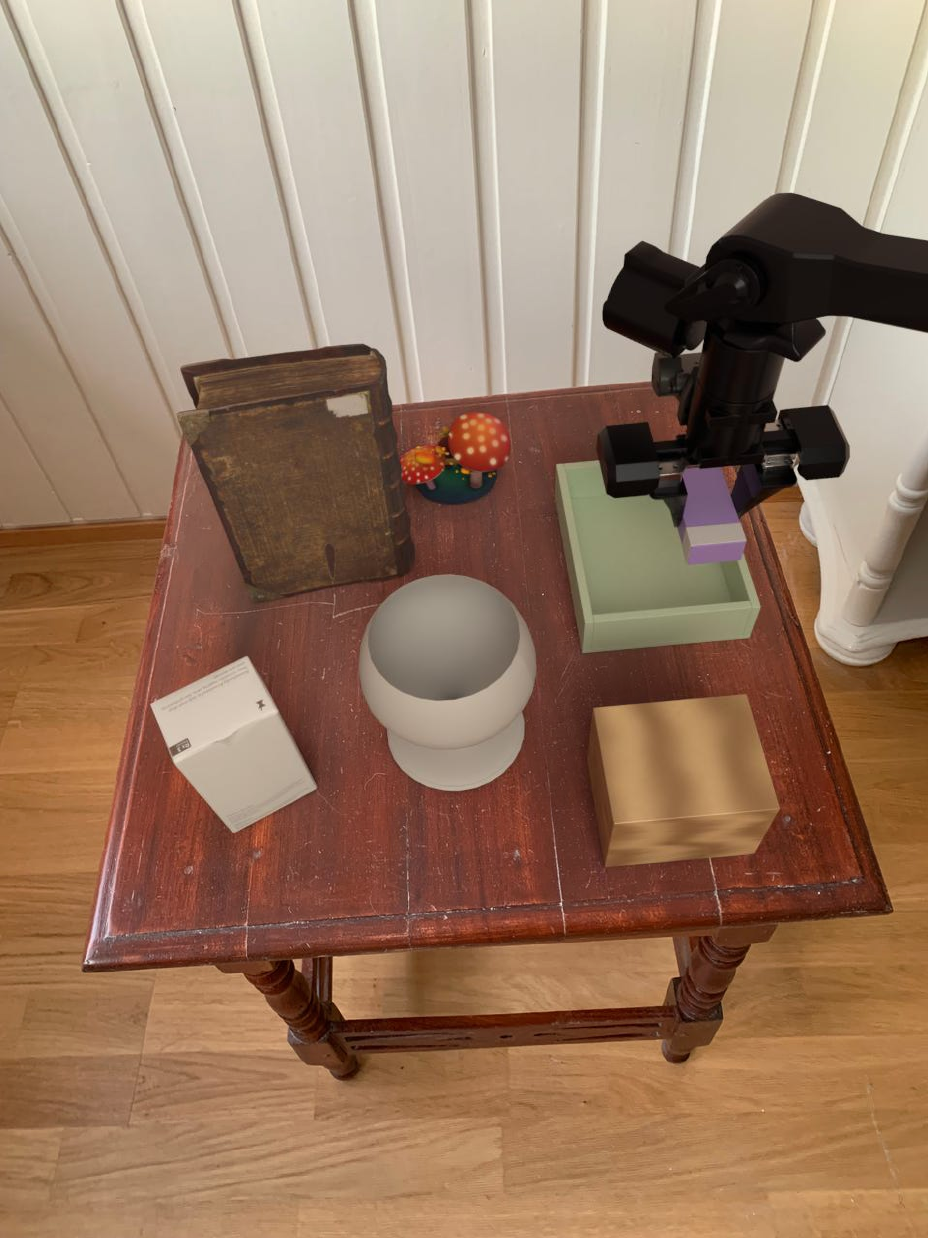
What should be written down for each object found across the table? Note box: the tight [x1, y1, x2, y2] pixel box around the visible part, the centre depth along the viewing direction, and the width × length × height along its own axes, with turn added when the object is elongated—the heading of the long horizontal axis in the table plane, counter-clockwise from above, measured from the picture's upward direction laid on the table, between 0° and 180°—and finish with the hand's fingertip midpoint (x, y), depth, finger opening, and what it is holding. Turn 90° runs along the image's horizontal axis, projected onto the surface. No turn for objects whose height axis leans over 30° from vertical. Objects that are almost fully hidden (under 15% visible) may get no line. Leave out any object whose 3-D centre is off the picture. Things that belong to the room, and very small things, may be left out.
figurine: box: [399, 411, 512, 505], centre depth 94 cm, size 12×9×8 cm
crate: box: [586, 693, 781, 868], centre depth 71 cm, size 12×10×9 cm
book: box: [176, 343, 416, 603], centre depth 81 cm, size 17×7×25 cm, turn 93°
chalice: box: [358, 573, 538, 792], centre depth 74 cm, size 14×14×15 cm
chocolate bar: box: [677, 467, 747, 565], centre depth 77 cm, size 5×9×2 cm, turn 4°
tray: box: [554, 459, 762, 654], centre depth 87 cm, size 16×20×5 cm
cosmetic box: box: [149, 655, 318, 834], centre depth 71 cm, size 8×6×15 cm
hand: (702, 520), depth 78 cm, fingers closed on chocolate bar, 4 cm apart
